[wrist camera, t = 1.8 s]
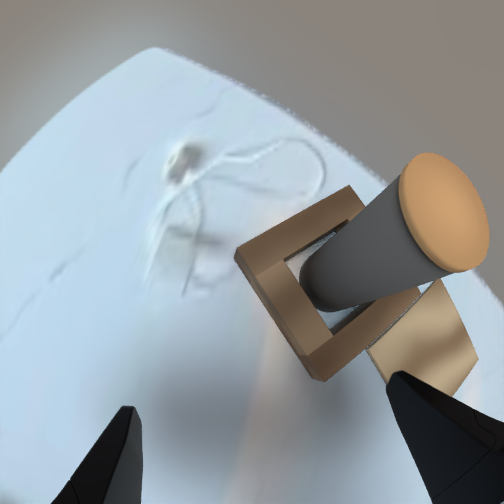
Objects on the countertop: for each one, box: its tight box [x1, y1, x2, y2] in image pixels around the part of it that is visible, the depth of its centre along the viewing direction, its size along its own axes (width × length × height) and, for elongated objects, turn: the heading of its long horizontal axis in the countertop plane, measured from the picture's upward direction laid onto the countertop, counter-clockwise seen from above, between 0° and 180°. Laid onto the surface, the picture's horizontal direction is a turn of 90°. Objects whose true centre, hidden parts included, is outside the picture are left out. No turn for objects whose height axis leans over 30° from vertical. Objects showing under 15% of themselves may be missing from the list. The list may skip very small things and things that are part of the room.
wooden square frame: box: [234, 185, 421, 382], centre depth 22 cm, size 11×11×2 cm
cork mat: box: [366, 278, 478, 397], centre depth 22 cm, size 11×11×1 cm
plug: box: [299, 153, 489, 312], centre depth 16 cm, size 5×5×14 cm
